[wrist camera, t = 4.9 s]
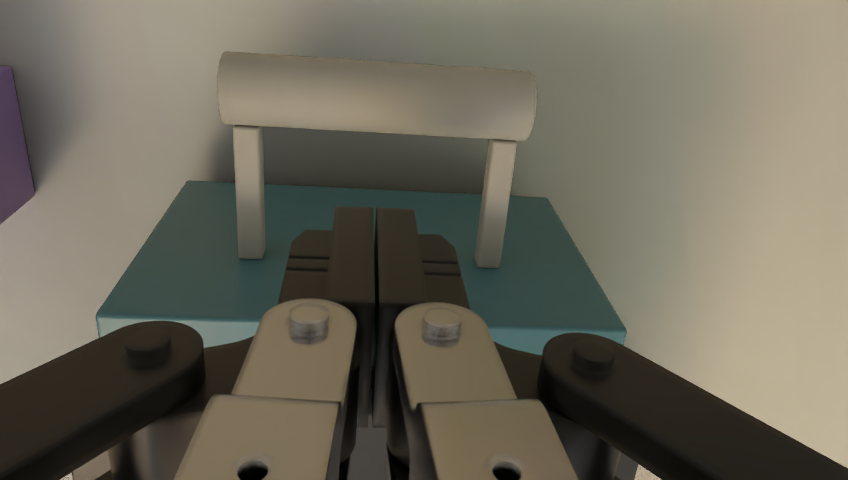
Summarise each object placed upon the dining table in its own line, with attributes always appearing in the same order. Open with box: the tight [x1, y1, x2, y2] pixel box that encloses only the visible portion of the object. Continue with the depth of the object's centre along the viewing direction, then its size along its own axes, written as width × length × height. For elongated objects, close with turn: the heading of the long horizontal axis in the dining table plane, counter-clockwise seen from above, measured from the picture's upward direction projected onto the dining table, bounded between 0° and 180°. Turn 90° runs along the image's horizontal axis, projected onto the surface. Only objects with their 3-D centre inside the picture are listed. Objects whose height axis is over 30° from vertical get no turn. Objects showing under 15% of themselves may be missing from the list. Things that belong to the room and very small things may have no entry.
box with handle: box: [96, 51, 627, 389], centre depth 20 cm, size 19×12×8 cm, turn 175°
